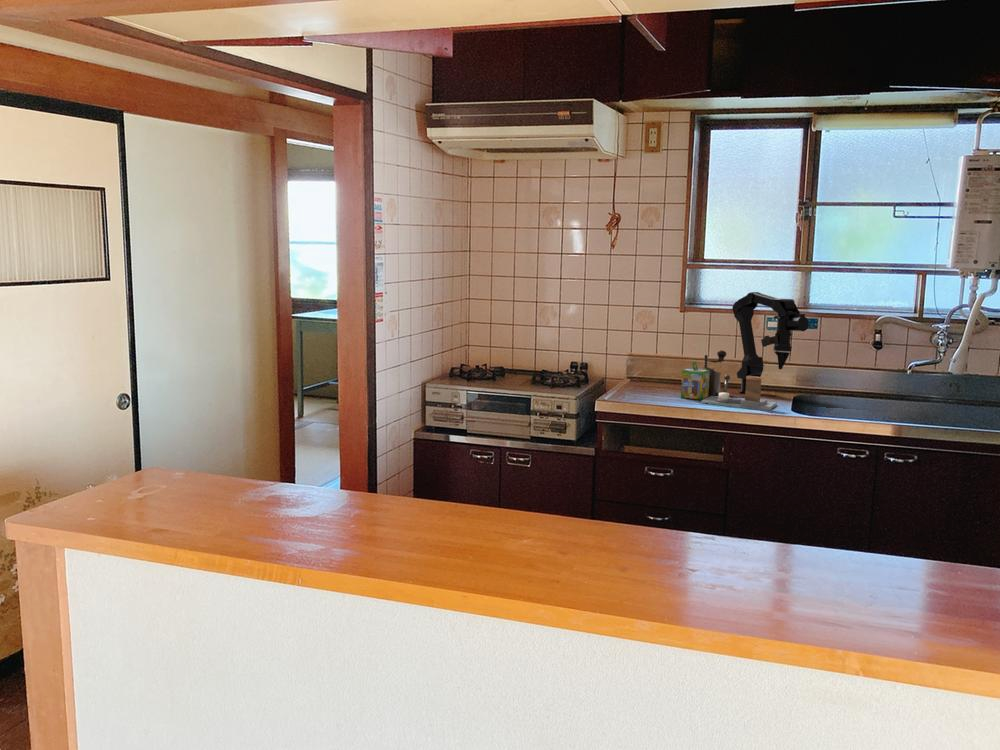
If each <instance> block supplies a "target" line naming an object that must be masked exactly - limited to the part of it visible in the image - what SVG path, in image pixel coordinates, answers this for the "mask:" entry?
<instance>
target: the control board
mask: <svg viewBox="0 0 1000 750" xmlns="http://www.w3.org/2000/svg"><path fill="white" fill-rule="evenodd" d="M703 403H708V404H707V405H712V404H715V405H714V406H721V405H723V407H730V406H731V407H733V408H739V407H742V408H743V409H749V408H751V409H750V410H758V411H766V412H767V411H768V412H769V411H771V410H772V409H773V408H775V407H776V406H777V405H778V402H775V401H774V402H773V401H768V399H763V400H760V403H759V402H755V401H746V400H745V398H738V397H730V393H729V392H726V393H724V392H723V391H722V392H721V391H720V393H719V394H718V395H716V396H710V397H708V398H705V399H703V400H700V404H703ZM742 408H741V409H742Z"/></svg>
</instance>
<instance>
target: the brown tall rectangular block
mask: <svg viewBox="0 0 1000 750" xmlns="http://www.w3.org/2000/svg"><path fill="white" fill-rule="evenodd" d="M762 379H763V378H762V376H761V377H754V376H747V377H746V391H745V393H744V399H745V400H746V401H755V402H759V403H760V401H761V391H762V389H761V388H762Z"/></svg>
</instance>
